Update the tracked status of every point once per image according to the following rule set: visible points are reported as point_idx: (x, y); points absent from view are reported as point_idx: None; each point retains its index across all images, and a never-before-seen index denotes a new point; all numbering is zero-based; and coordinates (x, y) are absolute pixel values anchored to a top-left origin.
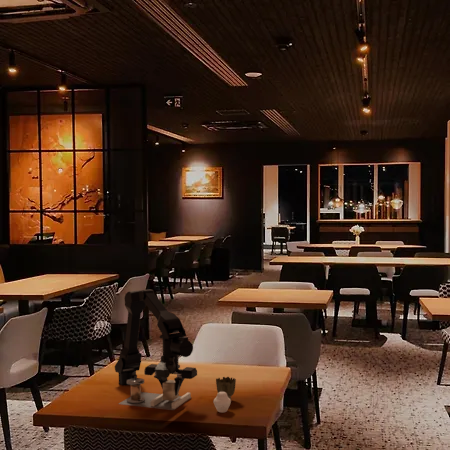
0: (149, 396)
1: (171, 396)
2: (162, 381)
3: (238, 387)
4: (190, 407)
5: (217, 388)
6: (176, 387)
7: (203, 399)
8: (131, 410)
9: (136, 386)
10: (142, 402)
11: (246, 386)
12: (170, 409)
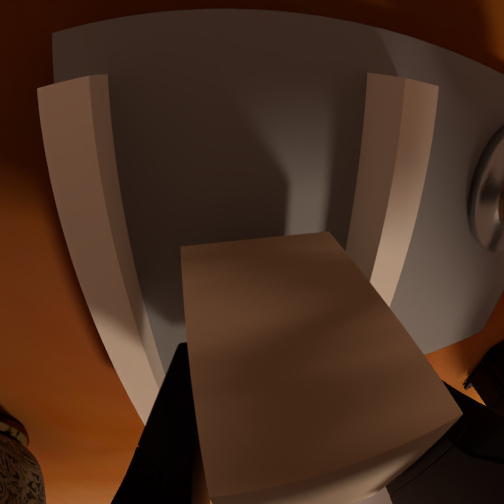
0: (442, 306)
1: (206, 277)
2: (461, 440)
3: (107, 495)
4: (41, 281)
5: (5, 474)
6: (164, 443)
7: (103, 419)
8: (486, 37)
9: None
10: (476, 166)
11: (95, 499)
12: (100, 28)
